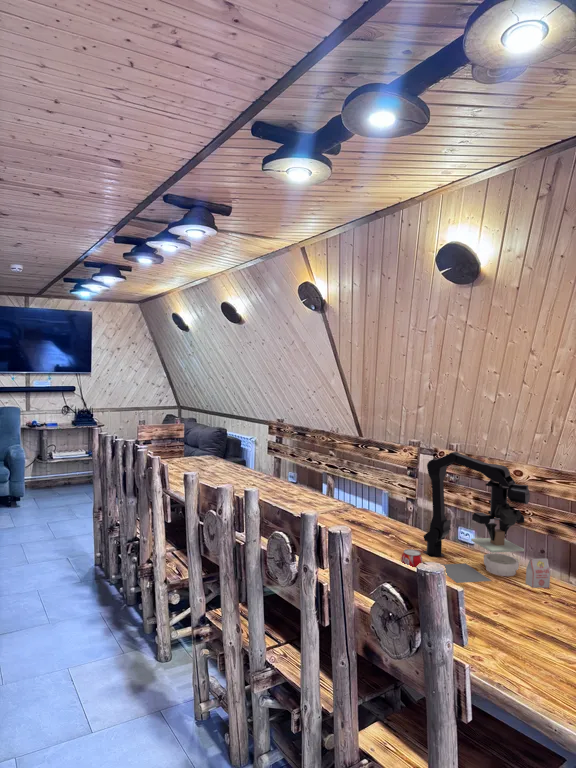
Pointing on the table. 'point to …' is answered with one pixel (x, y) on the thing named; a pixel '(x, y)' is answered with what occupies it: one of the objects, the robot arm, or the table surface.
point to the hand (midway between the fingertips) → (497, 540)
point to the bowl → (501, 564)
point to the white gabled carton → (538, 573)
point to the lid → (498, 543)
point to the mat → (464, 573)
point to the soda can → (411, 557)
